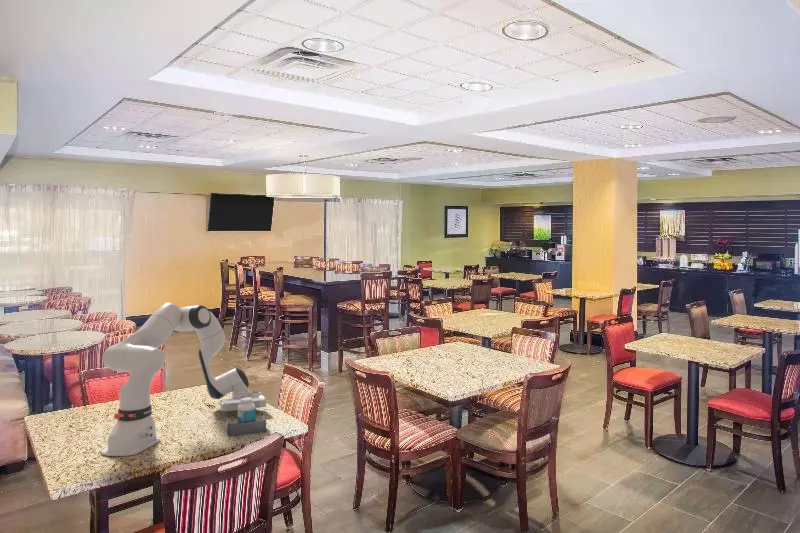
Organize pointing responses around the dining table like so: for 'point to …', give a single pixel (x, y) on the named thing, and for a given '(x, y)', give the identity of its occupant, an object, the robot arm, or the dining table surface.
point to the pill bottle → (246, 410)
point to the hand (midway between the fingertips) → (244, 408)
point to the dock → (246, 427)
